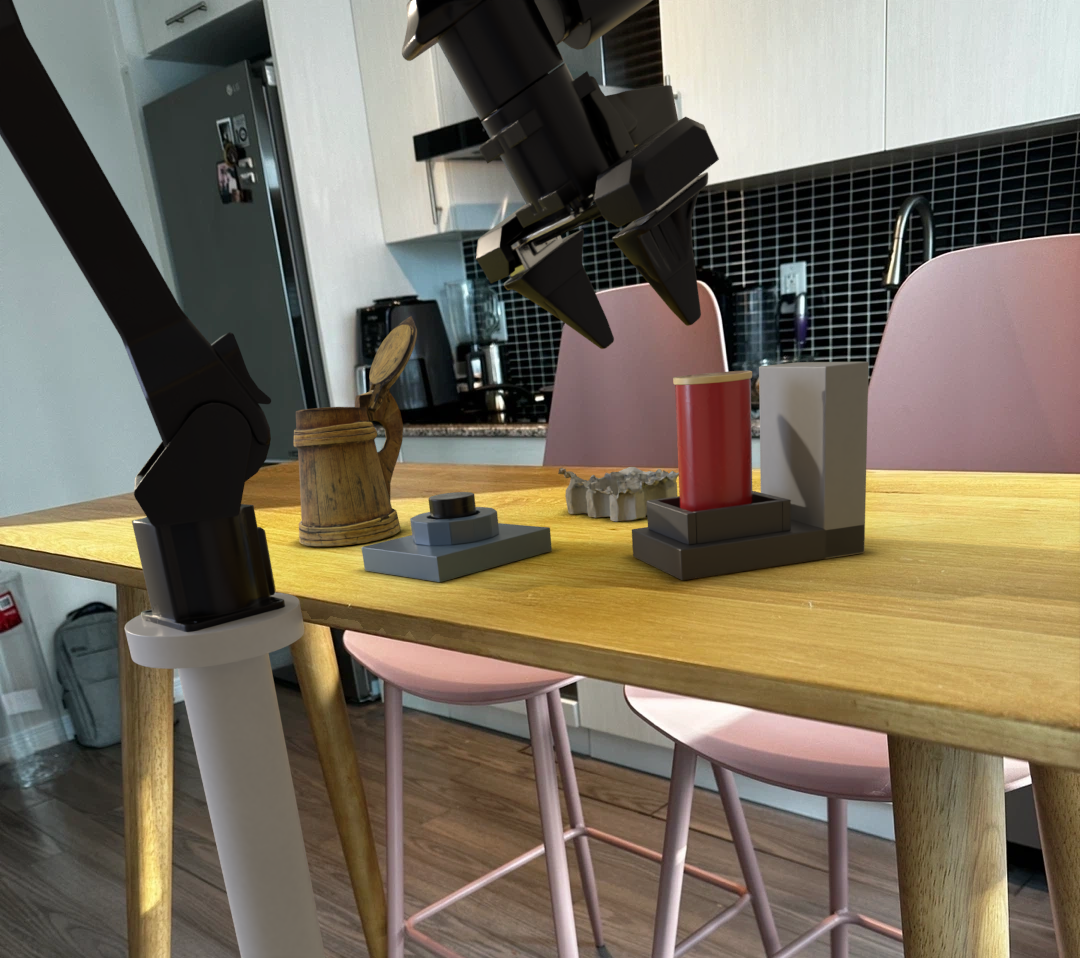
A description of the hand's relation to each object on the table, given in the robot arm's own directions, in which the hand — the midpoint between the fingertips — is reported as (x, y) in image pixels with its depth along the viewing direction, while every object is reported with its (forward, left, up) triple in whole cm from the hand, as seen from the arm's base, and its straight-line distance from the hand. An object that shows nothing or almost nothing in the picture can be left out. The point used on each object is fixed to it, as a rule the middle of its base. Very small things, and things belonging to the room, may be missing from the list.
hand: (649, 334), depth 66 cm
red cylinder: (+2, -4, -13) cm, 13 cm away
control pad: (-6, +14, -15) cm, 21 cm away
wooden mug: (-1, +32, -15) cm, 36 cm away
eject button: (-6, +14, -12) cm, 19 cm away
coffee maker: (+3, -5, -15) cm, 16 cm away
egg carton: (+15, +16, -15) cm, 26 cm away
